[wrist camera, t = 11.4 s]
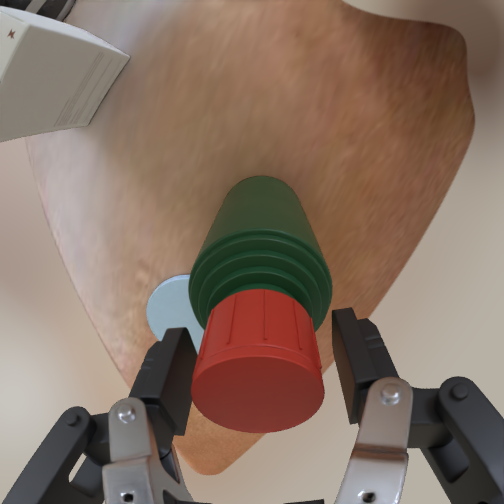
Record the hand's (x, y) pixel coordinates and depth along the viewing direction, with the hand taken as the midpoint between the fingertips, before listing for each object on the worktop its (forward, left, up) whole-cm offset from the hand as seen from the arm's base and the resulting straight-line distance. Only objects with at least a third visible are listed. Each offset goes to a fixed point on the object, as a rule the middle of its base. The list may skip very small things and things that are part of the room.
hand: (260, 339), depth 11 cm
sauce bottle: (0, 0, -14) cm, 14 cm away
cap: (0, 0, 0) cm, 0 cm away
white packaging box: (-16, -13, -15) cm, 25 cm away
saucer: (+9, -8, -14) cm, 19 cm away
